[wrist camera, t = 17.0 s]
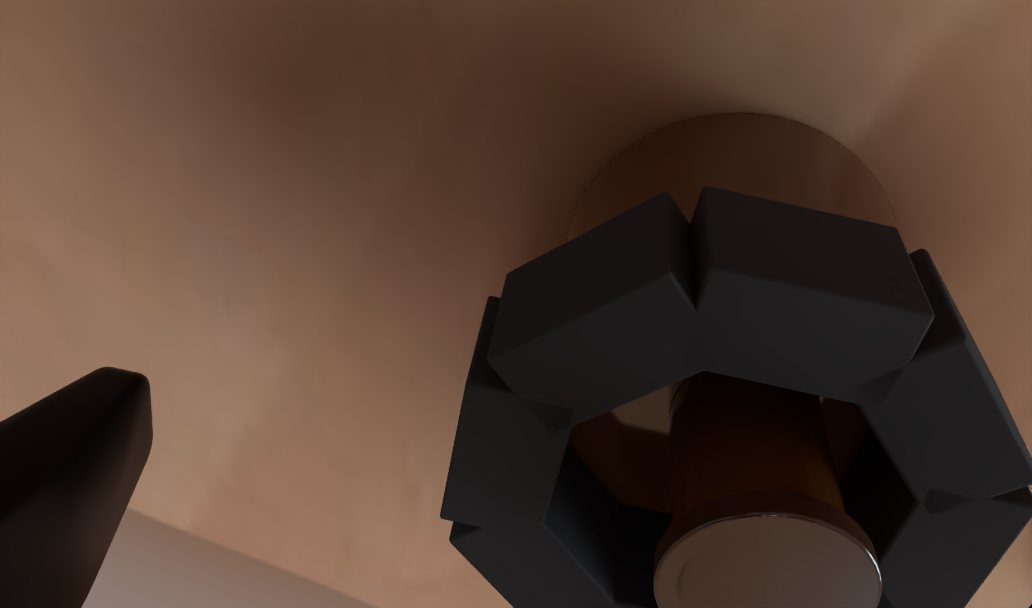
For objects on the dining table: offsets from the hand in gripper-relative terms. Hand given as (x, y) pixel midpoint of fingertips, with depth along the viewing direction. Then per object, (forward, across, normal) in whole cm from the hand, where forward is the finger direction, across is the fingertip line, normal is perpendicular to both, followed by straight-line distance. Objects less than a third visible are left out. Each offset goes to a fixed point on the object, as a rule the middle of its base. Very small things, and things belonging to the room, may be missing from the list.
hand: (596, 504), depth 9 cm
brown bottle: (+13, -4, +4) cm, 14 cm away
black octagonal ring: (+7, -3, +4) cm, 9 cm away
